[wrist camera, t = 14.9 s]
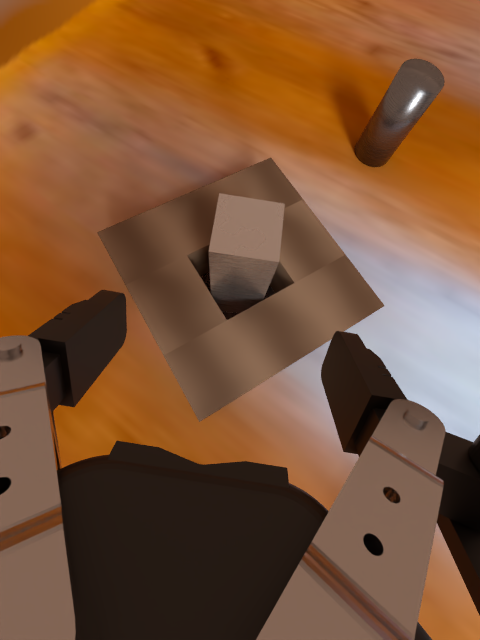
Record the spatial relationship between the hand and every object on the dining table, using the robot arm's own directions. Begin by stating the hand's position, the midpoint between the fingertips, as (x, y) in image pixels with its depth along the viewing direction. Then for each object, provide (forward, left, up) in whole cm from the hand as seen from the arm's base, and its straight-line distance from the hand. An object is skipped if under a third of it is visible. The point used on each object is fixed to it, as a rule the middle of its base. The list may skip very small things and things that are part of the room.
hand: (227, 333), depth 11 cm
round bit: (-27, -13, -14) cm, 33 cm away
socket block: (-5, -6, -14) cm, 16 cm away
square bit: (-5, -6, -14) cm, 16 cm away
